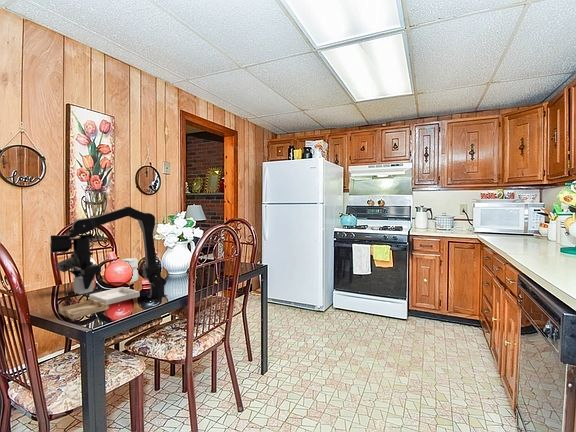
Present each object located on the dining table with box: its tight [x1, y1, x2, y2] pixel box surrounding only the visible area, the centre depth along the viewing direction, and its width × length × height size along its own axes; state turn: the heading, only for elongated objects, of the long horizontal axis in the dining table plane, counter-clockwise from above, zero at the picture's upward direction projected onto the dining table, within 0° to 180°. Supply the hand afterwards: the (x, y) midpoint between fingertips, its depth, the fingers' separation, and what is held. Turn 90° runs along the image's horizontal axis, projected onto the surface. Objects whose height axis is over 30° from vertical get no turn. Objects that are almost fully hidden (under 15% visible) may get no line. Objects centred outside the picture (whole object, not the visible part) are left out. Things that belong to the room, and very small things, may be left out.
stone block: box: [72, 276, 94, 295], centre depth 129 cm, size 5×5×6 cm
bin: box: [88, 286, 140, 306], centre depth 147 cm, size 15×15×2 cm
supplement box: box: [121, 257, 139, 284], centre depth 177 cm, size 7×7×13 cm
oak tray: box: [58, 299, 110, 321], centre depth 130 cm, size 13×13×2 cm
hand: (83, 288), depth 129 cm, fingers closed on stone block, 5 cm apart
